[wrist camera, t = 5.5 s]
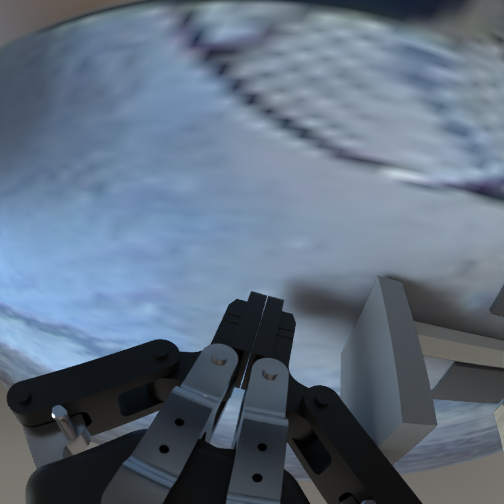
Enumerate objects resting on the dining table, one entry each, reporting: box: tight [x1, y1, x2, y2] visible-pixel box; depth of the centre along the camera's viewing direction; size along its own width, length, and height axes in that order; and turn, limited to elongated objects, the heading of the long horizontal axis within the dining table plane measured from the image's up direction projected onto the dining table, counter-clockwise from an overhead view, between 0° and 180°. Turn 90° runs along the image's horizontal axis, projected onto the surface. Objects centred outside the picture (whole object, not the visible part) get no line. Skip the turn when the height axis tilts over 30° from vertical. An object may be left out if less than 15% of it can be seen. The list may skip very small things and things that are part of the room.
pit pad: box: [431, 362, 504, 403], centre depth 15 cm, size 3×7×1 cm, turn 80°
